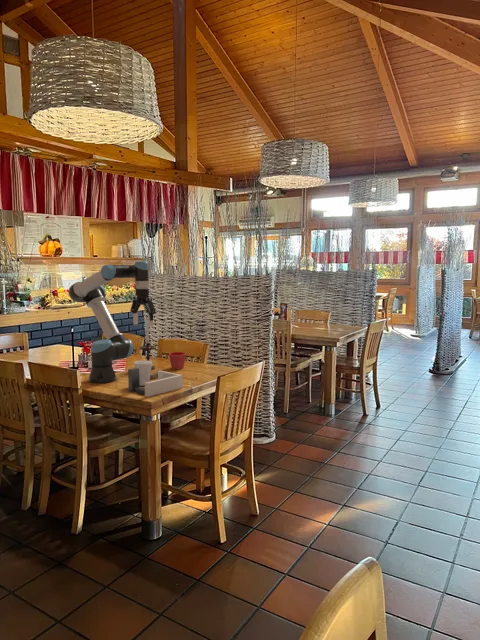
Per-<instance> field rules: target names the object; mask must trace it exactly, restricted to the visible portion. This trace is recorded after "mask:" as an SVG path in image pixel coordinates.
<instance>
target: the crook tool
mask: <svg viewBox="0 0 480 640" xmlns="http://www.w3.org/2000/svg"><path fill="white" fill-rule="evenodd" d="M127 371H128V372H127V374H128V375H127V376H128V389H127V390H128V392H130V393H137V394H141V395H144V396H145V387H143V386H142V387H141V385H140V380H139V368H135V367H133V368H128V369H127Z"/></svg>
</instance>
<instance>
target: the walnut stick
mask: <svg viewBox="0 0 480 640" xmlns="http://www.w3.org/2000/svg"><path fill="white" fill-rule="evenodd" d="M155 380H158V372H154V373H150V380H149V382H151V381H155Z"/></svg>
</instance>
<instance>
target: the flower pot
mask: <svg viewBox="0 0 480 640" xmlns="http://www.w3.org/2000/svg"><path fill="white" fill-rule="evenodd" d="M186 355H187V353H186V352H184V351H183V352H182V351H176V352H175V351H173V352H169V354H168V357H169V361H170V366H171V369H172V370H179V369H181V370H182V369H184V368H185V367H184V366H185V362H186Z"/></svg>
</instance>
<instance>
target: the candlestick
mask: <svg viewBox="0 0 480 640" xmlns="http://www.w3.org/2000/svg"><path fill="white" fill-rule="evenodd" d="M145 318H146V319H145V320H146V322H145V341H146V342H145V345H143V346H139V347H138V348H139V350H141V351H145V352H146V357H145V359H146V361H150V358H151V356H150V351H152V350H153V351H154V350H156V349H157V346H156V345H150V326H148V316H147V315H146V316H145ZM152 370H156V366H154V365H152V366H151V371H152Z"/></svg>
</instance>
